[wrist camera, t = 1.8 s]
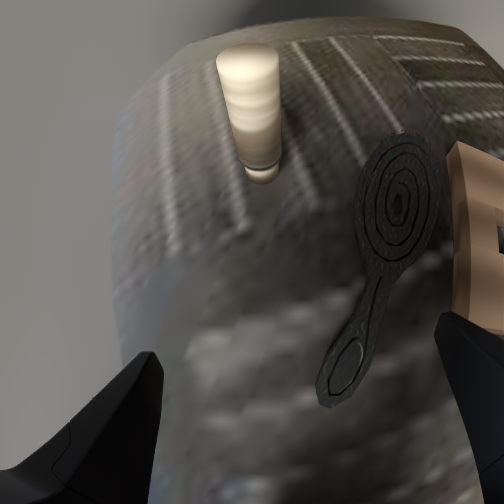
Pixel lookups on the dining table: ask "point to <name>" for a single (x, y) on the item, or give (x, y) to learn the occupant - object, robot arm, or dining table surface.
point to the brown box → (477, 236)
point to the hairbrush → (382, 251)
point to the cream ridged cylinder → (253, 106)
